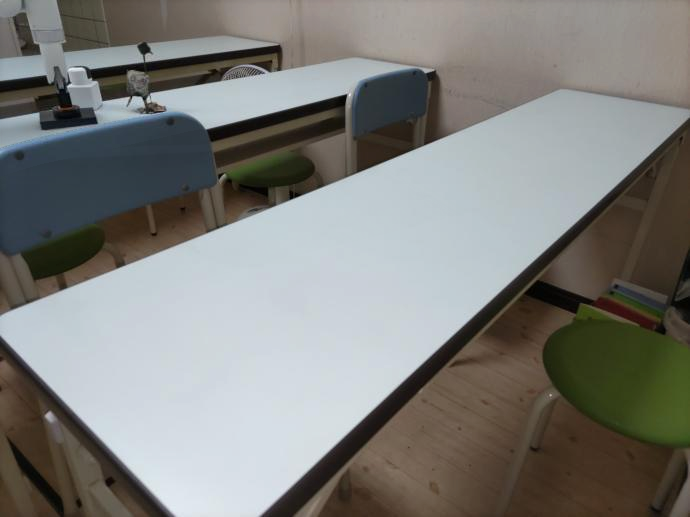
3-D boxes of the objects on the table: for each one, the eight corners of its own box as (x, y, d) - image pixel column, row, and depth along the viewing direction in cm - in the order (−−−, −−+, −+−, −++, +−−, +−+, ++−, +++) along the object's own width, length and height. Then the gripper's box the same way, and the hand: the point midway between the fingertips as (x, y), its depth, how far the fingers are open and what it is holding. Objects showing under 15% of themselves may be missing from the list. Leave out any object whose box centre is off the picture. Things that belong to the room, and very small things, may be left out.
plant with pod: (131, 108, 159) (117, 39, 148) (169, 107, 160) (157, 39, 150) (125, 116, 152) (110, 44, 142) (165, 115, 153) (152, 43, 143)
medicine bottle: (79, 104, 160) (69, 64, 154) (103, 104, 161) (94, 64, 155) (72, 110, 154) (61, 69, 148) (96, 110, 155) (86, 69, 149)
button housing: (41, 129, 138) (37, 115, 136) (41, 119, 146) (37, 105, 144) (97, 124, 144) (94, 110, 141) (94, 114, 152) (91, 101, 150)
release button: (59, 115, 141) (58, 109, 140) (59, 112, 144) (57, 105, 143) (75, 114, 143) (74, 108, 142) (74, 110, 146) (73, 104, 145)
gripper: (32, 32, 137) (50, 101, 147) (32, 41, 126) (52, 115, 135) (63, 32, 140) (79, 99, 150) (66, 40, 129) (83, 112, 139)
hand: (66, 106), depth 143 cm, fingers closed
